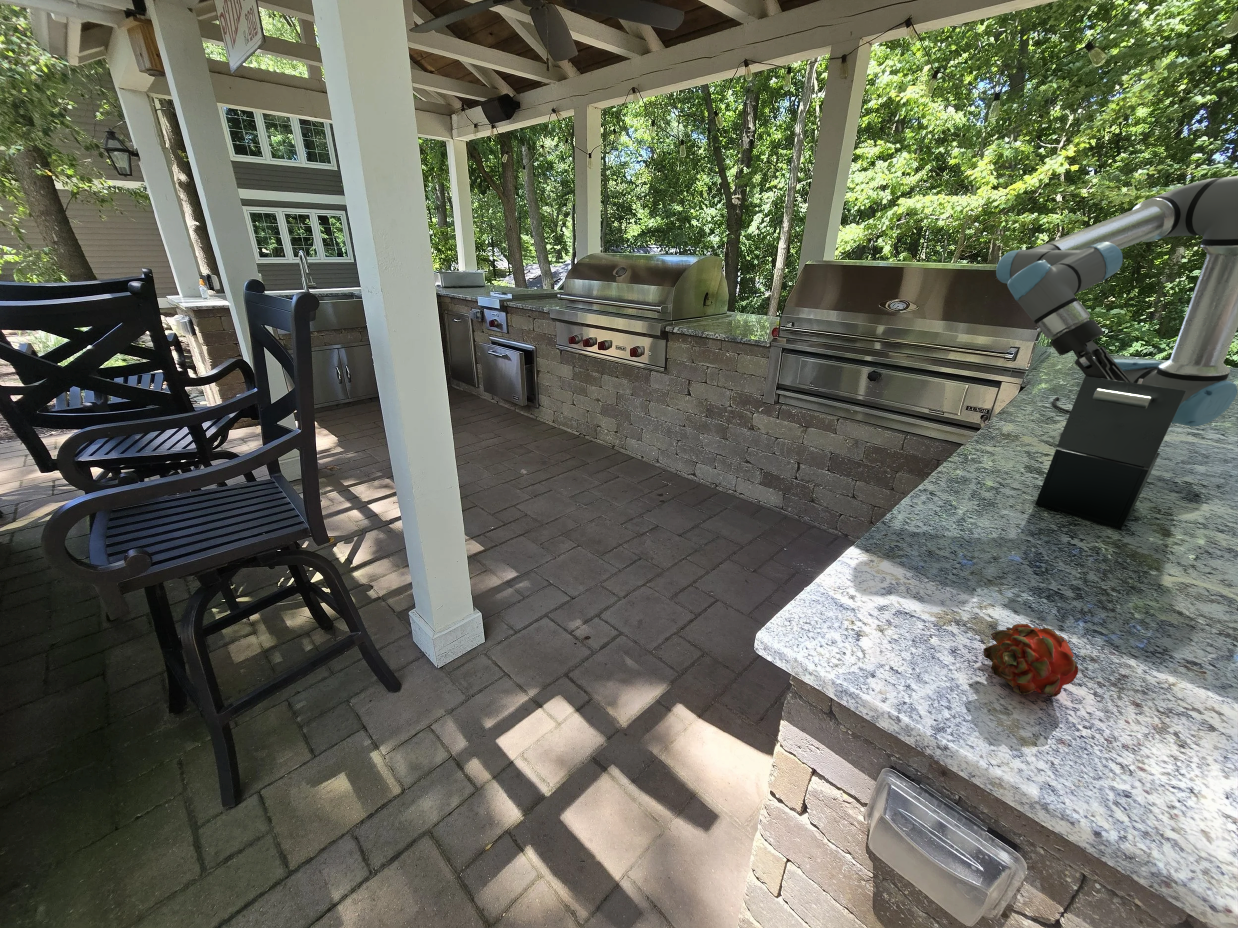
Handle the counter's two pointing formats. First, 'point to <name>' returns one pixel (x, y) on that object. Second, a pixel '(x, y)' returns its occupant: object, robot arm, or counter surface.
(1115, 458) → the trash lid
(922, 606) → the counter surface
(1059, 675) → the dragon fruit
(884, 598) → the counter surface
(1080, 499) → the trash can
